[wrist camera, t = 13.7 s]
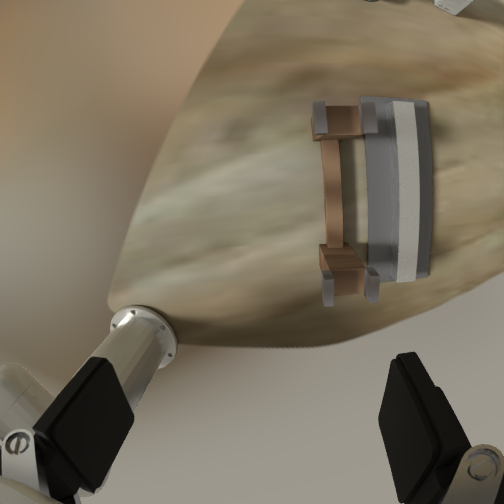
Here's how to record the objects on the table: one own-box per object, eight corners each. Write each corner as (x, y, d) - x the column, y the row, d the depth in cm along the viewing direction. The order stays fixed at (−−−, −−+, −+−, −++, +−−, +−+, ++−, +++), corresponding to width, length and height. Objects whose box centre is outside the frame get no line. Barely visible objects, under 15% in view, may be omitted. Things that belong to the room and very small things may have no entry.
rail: (407, 273, 40) (415, 280, 38) (389, 274, 41) (396, 282, 38) (405, 105, 33) (413, 102, 31) (385, 104, 34) (392, 100, 31)
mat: (426, 275, 41) (427, 277, 40) (366, 281, 42) (367, 282, 41) (424, 101, 33) (426, 100, 33) (360, 97, 34) (361, 96, 34)
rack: (353, 262, 41) (378, 302, 29) (313, 265, 42) (324, 306, 30) (347, 118, 36) (374, 102, 24) (304, 119, 36) (314, 101, 24)
